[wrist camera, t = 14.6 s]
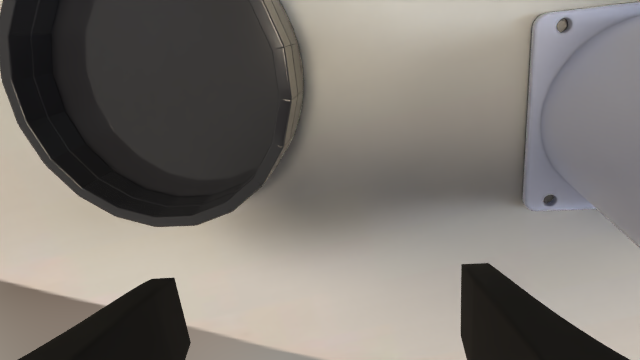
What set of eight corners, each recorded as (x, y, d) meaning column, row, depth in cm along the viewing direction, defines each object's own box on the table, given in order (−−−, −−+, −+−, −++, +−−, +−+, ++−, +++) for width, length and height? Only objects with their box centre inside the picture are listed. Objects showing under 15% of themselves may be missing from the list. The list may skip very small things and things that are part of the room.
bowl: (282, -98, 16) (261, -121, 13) (318, 195, 20) (308, 221, 17) (11, -49, 18) (-52, -60, 15) (95, 206, 22) (56, 231, 19)
